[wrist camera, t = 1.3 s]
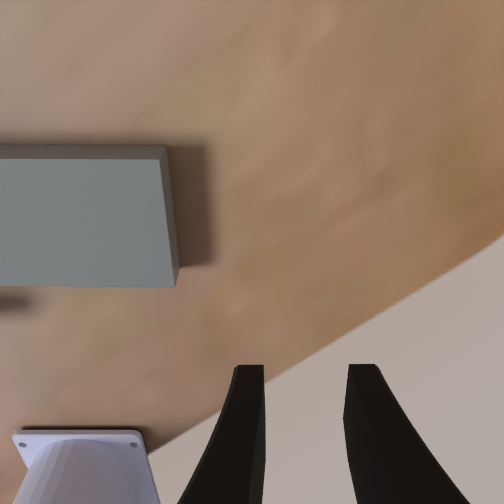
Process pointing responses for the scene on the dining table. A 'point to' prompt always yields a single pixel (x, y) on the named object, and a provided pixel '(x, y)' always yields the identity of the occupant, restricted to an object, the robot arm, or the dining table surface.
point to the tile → (87, 216)
